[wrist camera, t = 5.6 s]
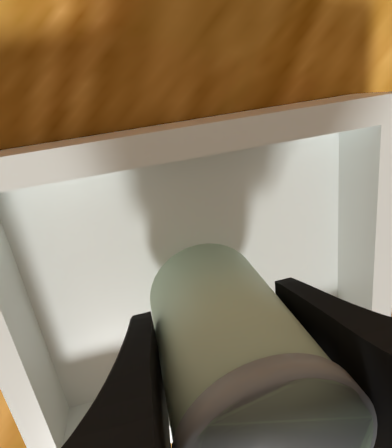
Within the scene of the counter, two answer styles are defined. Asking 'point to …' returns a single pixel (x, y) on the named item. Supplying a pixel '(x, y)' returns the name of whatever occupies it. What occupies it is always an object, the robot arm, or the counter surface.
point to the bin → (179, 232)
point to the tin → (246, 362)
